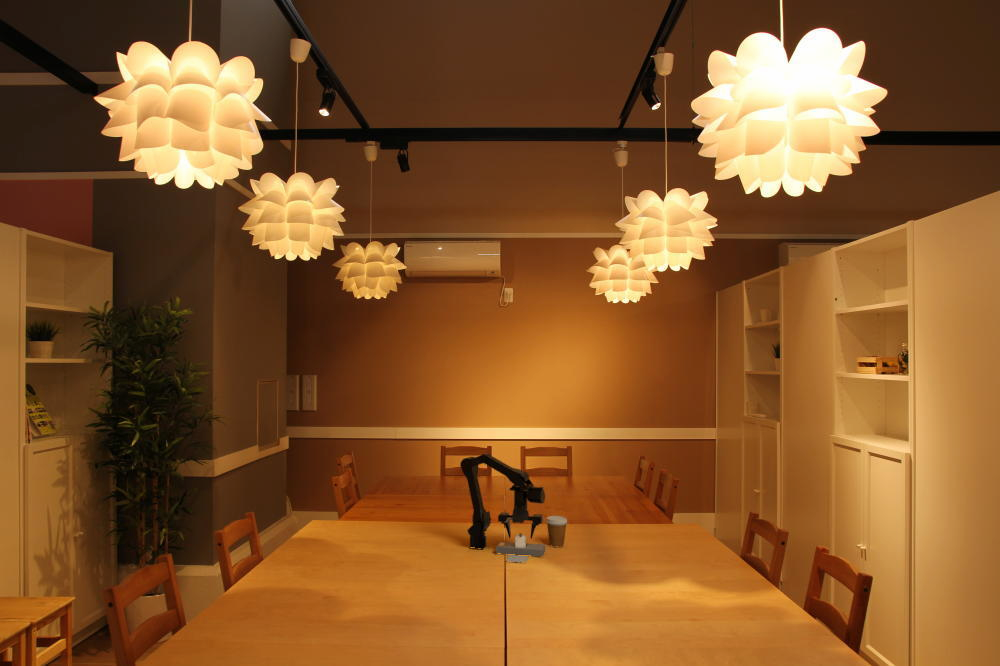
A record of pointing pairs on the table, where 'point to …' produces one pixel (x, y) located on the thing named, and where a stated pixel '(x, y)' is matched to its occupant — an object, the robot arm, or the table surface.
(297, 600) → the table surface
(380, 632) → the table surface
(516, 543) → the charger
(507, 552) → the grey flat block
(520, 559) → the grey square plate
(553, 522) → the disposable coffee cup
